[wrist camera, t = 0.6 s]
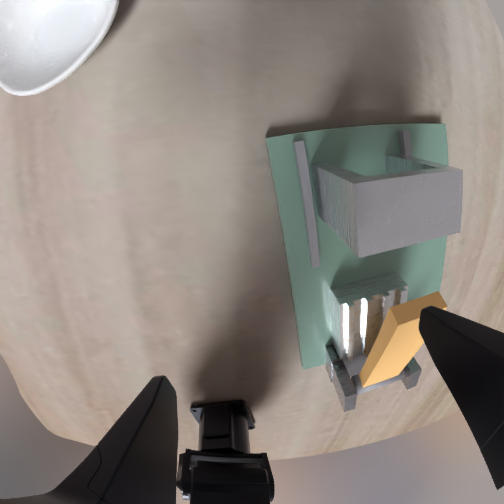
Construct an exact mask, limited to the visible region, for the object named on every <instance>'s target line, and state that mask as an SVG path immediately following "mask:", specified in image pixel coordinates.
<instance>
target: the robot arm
mask: <svg viewBox="0 0 504 504" xmlns="http://www.w3.org/2000/svg"><path fill="white" fill-rule="evenodd" d="M419 332H420V334H421V337H422V339H423V341H424V343H425V345H426V347H427V349H428V351H429V353H430V355H431V357H432V360H433V362H434V364H435V366H436V367H437V369H438V371H439V372H440V374H441V376H442V378H443V379H444V381H445V383H446V384H447V386H448V388H449V390H450V391H451V393H452V395H453V397H454V399H455V401H456V402H457V404H458V406H459V408H460V410H461V412H462V413H463V415H464V417H465V419H466V421H467V423H468V425H469V427H470V429H471V431H472V433H473V435H474V437H475V440H476V441H477V444H478V446H479V448H480V451H481V453H482V455H483V457H484V459H485V462H486V464H487V466H488V469H489V471H490V473H491V476H492V479H493V481H494V484H495V486H496V488H497V490H498V489H500V488H501V487H503V486H504V333H502V332H500V331H497V330H495V329H492V328H490V327H487V326H484V325H482V324H479V323H477V322H474V321H471V320H469V319H466V318H464V317H461V316H458V315H456V314H453V313H451V312H448V311H445V310H443V309H440V308H437V307H435V306H428V307H425V308H423V309H422V310H421V313H420V320H419ZM190 411H191V413H192V414H193V416H194V417H195V419H196V420H197V422H198V423H199V425H200V426H199V446H198V451H196V450H191V449H186V452H185V453H183V454H180V455H179V467H178V473H177V449H178V417H177V396H176V391H175V389H174V388H173V386H172V385H171V383H170V382H169V380H168V379H167V377H166V376H163V375H162V376H155V377H153V378H152V379H151V380H150V382H149V383H148V384H147V385H146V386H145V388H144V389H143V390H142V391H141V392H140V394H139V395H138V396H137V397H136V398H135V400H134V401H133V402H132V403H131V405H130V406H129V407H128V408H127V409H126V411H125V412H124V413H123V414H122V415H121V417H120V418H119V419H118V420H117V421H116V423H115V424H114V425H113V426H112V427H111V429H110V430H109V431H108V432H107V433H106V435H105V436H104V437H103V438H102V440H101V441H100V442H99V443H98V445H96V447H95V448H94V449H93V450H92V452H91V453H90V454H89V455H88V456H87V457H86V458H85V459H84V461H83V462H82V463H81V464H80V465H79V466H78V467H77V468H76V469H75V470H74V471H73V472H72V473H71V474H70V475H69V476H68V477H66V478H65V479H64V480H63V481H62V482H61V483H60V484H59V485H58V486H57V487H56V488H55V489H53V490H52V491H50V492H48V493H45V494H41V495H35V496H28V497H21V498H11V499H0V504H176V486H177V487H178V488H179V489H180V490H181V493H182V494H183V500H190V504H270V502H272V500H273V498H274V479H273V475H272V472H271V468H270V465H269V461H268V457H267V453H259V454H253V453H250V443H249V431H248V430H251V429H254V428H255V425H254V422H253V420H252V417H251V415H250V412H249V410H248V408H247V405H246V403H245V401H243V400H239V401H232V402H224V403H216V404H207V405H197V406H191V407H190ZM176 473H177V480H176Z"/></svg>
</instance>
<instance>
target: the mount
mask: <svg viewBox="0 0 504 504" xmlns="http://www.w3.org/2000/svg"><path fill="white" fill-rule="evenodd" d="M370 351H371V350H370ZM370 351H369V354H370ZM325 356H326V369H327V372H328V375H329V378H330V380H331V382H333V383H334V386H335V388H336V391H337V394H338V397H339V399H340V402H341V405H342V408H343V410H344V412H345V411H348V410H352V409H355V404H356V397H357V392H356V390H355V388H354V385H353V383H352V381H351V378H350V377H351V376H354V375H357V374H360V372H361V370H362V368H363V366H364V364H365V362H366V360H367V358H368V356H365V357H363V355H362V353H361V354H358V355H354V356H353V360H352V361H349V362H347V360H346V358H344V359H341V360H340V358H339V356H338V353H337V351H336V349H335V346H334V344H331V345H327V346H325ZM421 370H422V369H421V368H420V366H419V365H418V363H417V362H416V360H415V359H414V357H412V359H411V360H410V361H409V362H408V364H407V365H406V366H405V367H404V369H403V370H402V372H403V376H402V379H401V380H402V381H403V383H404V385H405V387H406V388H407V389H409V388H412V387H414V386H416V385H417V382H418V379H419V376H420V373H421Z"/></svg>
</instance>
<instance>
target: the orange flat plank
mask: <svg viewBox="0 0 504 504" xmlns="http://www.w3.org/2000/svg"><path fill="white" fill-rule="evenodd" d="M428 306H435V307H437V308H440V309H443V310H446V308H447V305H446V303H445V301H444V300H443V298H442V296H441V295H440V293H439V291H437V292H434V293H431V294H428V295H425V296H423V297H420V298H417V299H414V300H411V301H408V302H405V303H402V304H399V305H396V306H393V307H390V308H389V310H388V313H387V315H386V318H385V320H384V323H383V325H382V327H381V330H380V332H379V334H378V336H377V339H376V341H375V343H374V345H373V347H372V349H371V351H370V354H369V356H368V358H367V360H366V362H365V364H364V366H363V368H362V370H361V372H360V374H357V375H354V376H352V377H351V381H352V383H353V385H354V388H355V390H356V392H357V395H358V394H361V393H364V392H367V391H370V390H373V389H376V388H379V387H382V386H384V385H387V384H390V383H392V382H395V381H398V380H400V379H402V376H403V372H402V370H403V369H404V367H405V366H406V365H407V364H408V362H409V361H410V360H411V359H412V357H413V356H414V355H415V353H416V352H417V351H418V349H419V348H420V347H421V345H422V344H423V343H424V341H423V339H422V337H421V334H420V332H419V320H420V313H421V310H422V309H423V308H425V307H428Z"/></svg>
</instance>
